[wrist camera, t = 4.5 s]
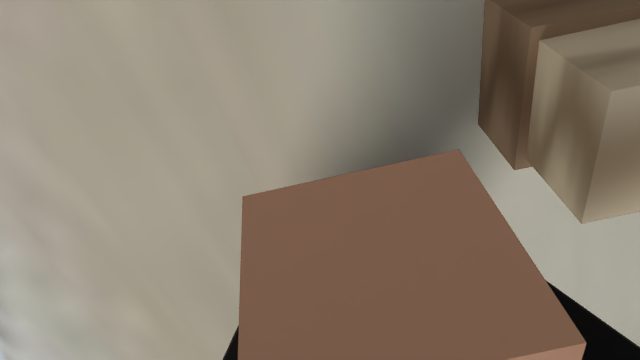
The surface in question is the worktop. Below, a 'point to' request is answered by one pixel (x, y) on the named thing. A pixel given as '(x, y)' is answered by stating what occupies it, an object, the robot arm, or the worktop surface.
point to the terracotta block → (393, 272)
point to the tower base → (528, 59)
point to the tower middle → (589, 120)
